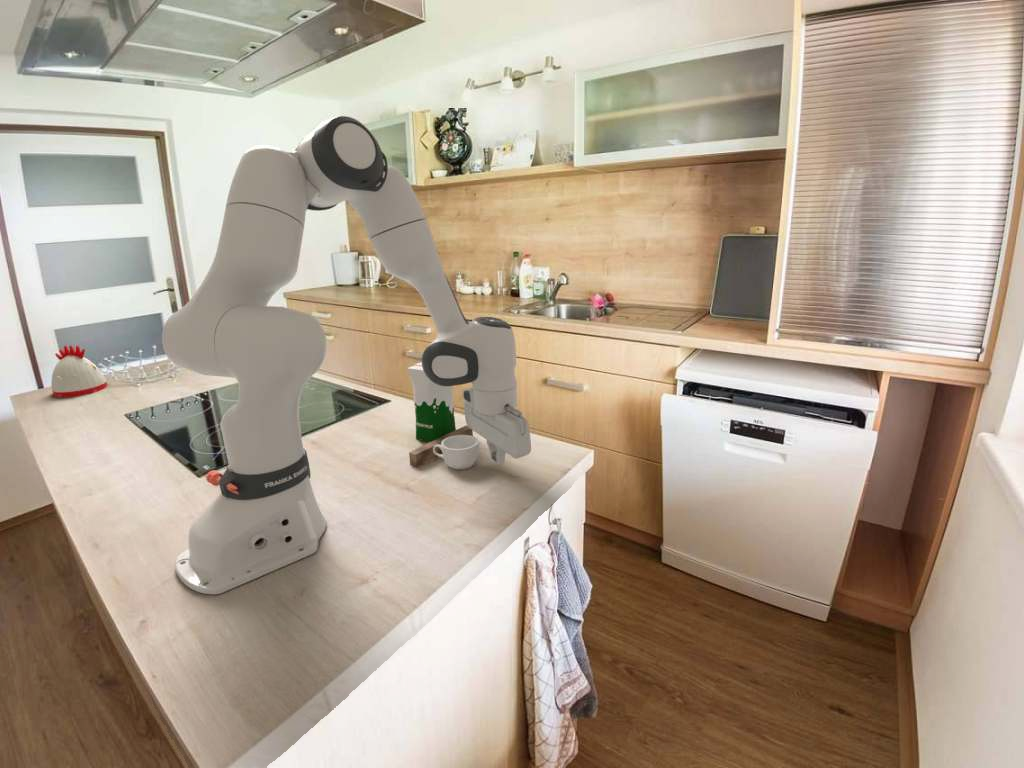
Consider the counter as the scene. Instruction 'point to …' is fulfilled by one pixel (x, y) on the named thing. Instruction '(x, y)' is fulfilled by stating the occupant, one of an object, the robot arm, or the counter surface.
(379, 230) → the robot arm
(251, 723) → the counter surface
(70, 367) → the crested hat
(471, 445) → the teacup
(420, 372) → the milk carton
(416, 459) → the strip
